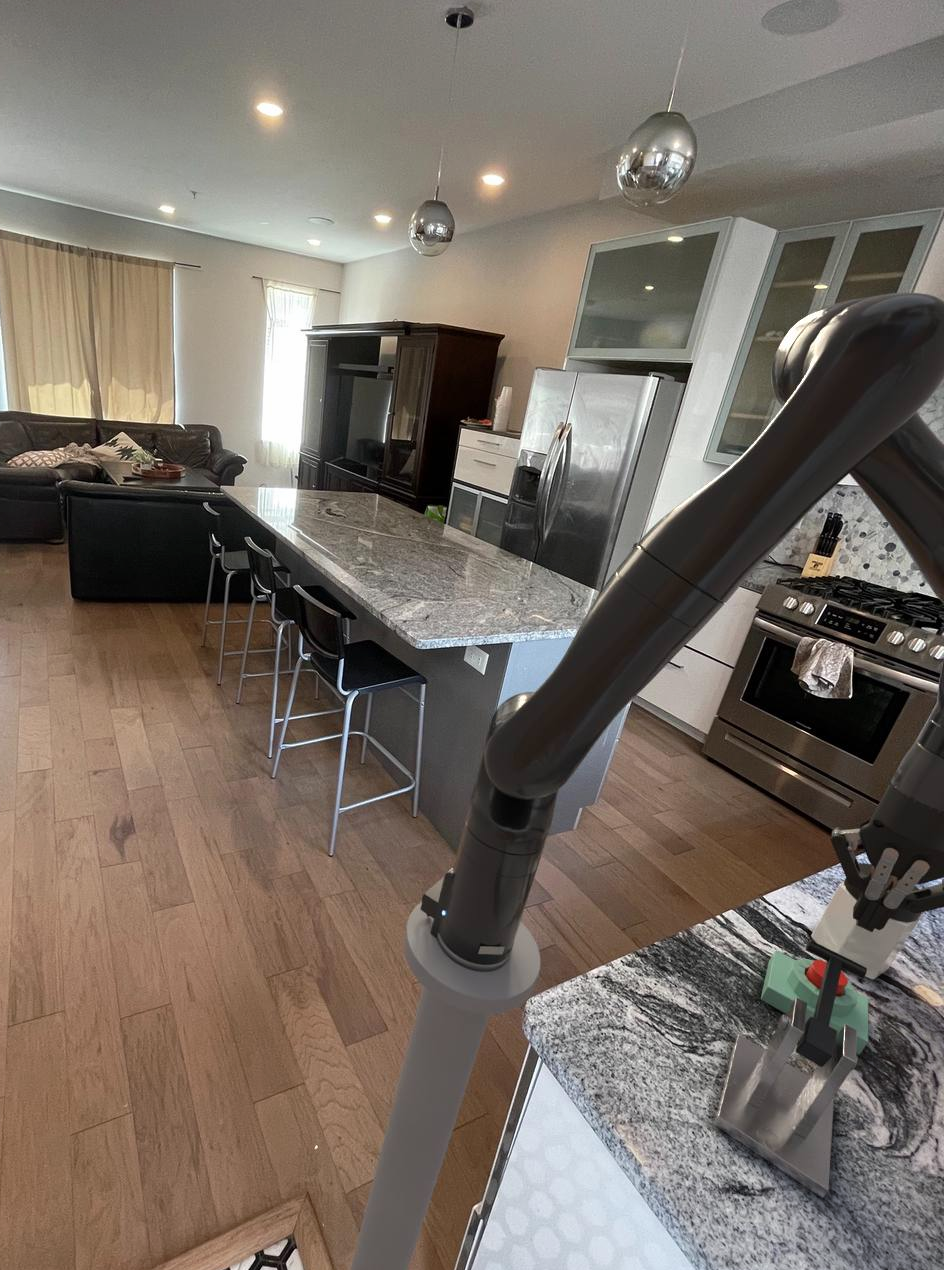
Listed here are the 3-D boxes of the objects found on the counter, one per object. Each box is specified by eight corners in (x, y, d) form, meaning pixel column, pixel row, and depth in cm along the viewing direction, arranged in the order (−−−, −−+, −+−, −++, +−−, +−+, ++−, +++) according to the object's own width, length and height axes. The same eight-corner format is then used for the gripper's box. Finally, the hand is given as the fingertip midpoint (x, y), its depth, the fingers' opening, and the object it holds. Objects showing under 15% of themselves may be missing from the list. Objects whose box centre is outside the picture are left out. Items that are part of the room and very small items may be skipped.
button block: (760, 999, 75) (773, 975, 74) (768, 962, 81) (780, 938, 80) (859, 1055, 70) (875, 1030, 68) (860, 1010, 76) (875, 986, 75)
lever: (804, 946, 67) (813, 934, 65) (860, 974, 64) (870, 962, 63) (778, 1042, 60) (787, 1030, 58) (840, 1078, 57) (851, 1067, 56)
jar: (881, 950, 87) (923, 882, 82) (893, 990, 80) (940, 918, 76) (807, 919, 90) (844, 852, 86) (813, 955, 84) (853, 885, 79)
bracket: (734, 1041, 69) (777, 962, 65) (829, 1098, 64) (882, 1017, 60) (713, 1124, 60) (762, 1039, 55) (822, 1198, 55) (885, 1111, 51)
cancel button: (805, 983, 74) (811, 972, 73) (807, 965, 77) (813, 954, 76) (840, 1002, 72) (847, 991, 71) (841, 983, 75) (848, 972, 74)
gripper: (1019, 809, 63) (936, 940, 69) (861, 755, 70) (799, 878, 76) (1033, 840, 57) (941, 980, 63) (859, 778, 64) (792, 909, 70)
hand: (863, 924), depth 70 cm, fingers closed
